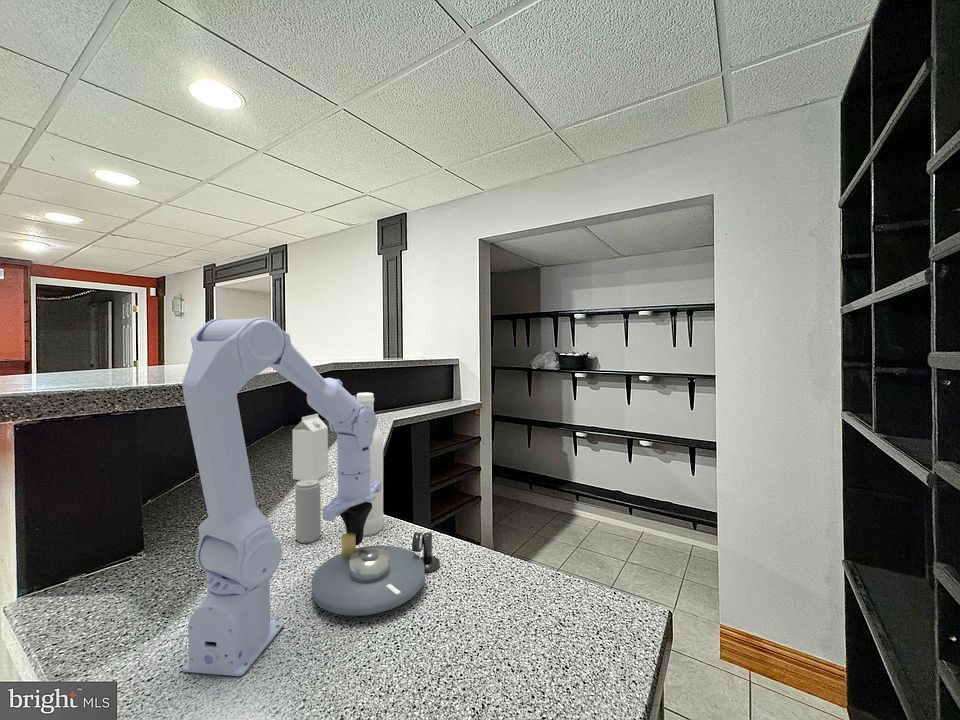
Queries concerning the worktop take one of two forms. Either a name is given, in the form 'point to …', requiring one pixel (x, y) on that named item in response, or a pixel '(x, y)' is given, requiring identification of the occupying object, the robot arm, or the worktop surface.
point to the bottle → (374, 473)
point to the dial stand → (425, 550)
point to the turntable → (365, 599)
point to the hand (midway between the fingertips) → (354, 543)
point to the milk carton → (310, 448)
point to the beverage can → (308, 510)
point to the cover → (369, 565)
